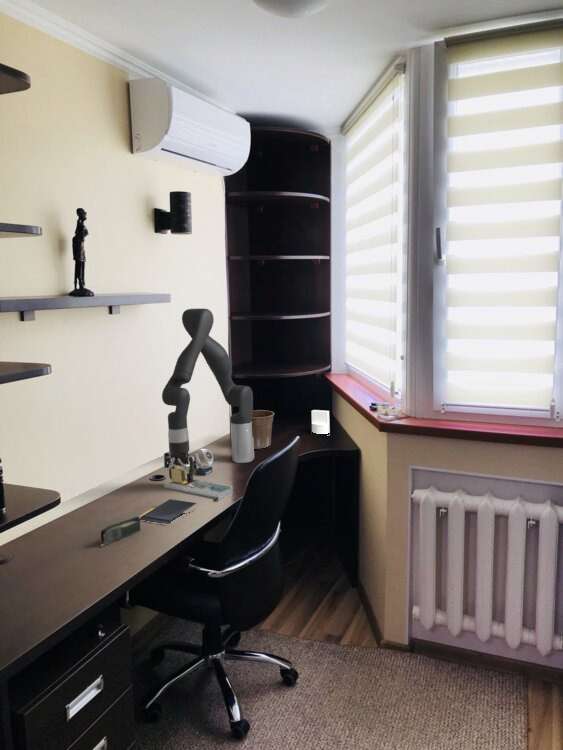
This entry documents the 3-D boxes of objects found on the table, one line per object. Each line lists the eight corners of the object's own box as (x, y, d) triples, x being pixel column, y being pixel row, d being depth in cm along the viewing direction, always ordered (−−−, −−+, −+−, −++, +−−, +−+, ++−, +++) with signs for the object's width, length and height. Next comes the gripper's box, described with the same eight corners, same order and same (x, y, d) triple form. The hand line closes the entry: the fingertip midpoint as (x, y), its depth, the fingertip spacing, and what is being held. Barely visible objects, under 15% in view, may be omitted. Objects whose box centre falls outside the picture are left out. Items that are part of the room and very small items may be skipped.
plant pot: (281, 443, 278) (280, 411, 276) (265, 452, 264) (263, 418, 262) (252, 440, 286) (250, 408, 283) (234, 449, 272) (233, 415, 269)
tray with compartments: (179, 483, 227) (178, 475, 226) (232, 493, 213) (232, 485, 213) (164, 489, 220) (163, 482, 219) (218, 501, 206) (217, 493, 206)
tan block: (181, 482, 224) (179, 465, 223) (190, 484, 221) (189, 467, 220) (172, 486, 220) (171, 469, 219) (182, 489, 217) (181, 471, 216)
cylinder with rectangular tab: (309, 435, 292) (308, 412, 290) (315, 431, 300) (314, 408, 298) (326, 436, 288) (325, 413, 286) (332, 432, 296) (331, 409, 294)
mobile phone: (135, 514, 184) (95, 530, 173) (141, 516, 183) (101, 532, 171) (136, 529, 185) (96, 545, 173) (142, 531, 183) (102, 548, 172)
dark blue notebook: (169, 523, 185) (131, 516, 192) (169, 528, 186) (132, 521, 192) (203, 501, 203) (168, 495, 210) (204, 506, 203) (169, 500, 210)
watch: (208, 478, 231) (207, 452, 229) (192, 476, 235) (190, 450, 233) (216, 474, 236) (215, 448, 234) (200, 472, 239) (199, 446, 238)
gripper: (199, 439, 217) (202, 480, 220) (171, 435, 225) (174, 475, 227) (186, 444, 211) (189, 486, 213) (157, 439, 218) (160, 480, 221)
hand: (181, 480), depth 220 cm, fingers open, 8 cm apart
